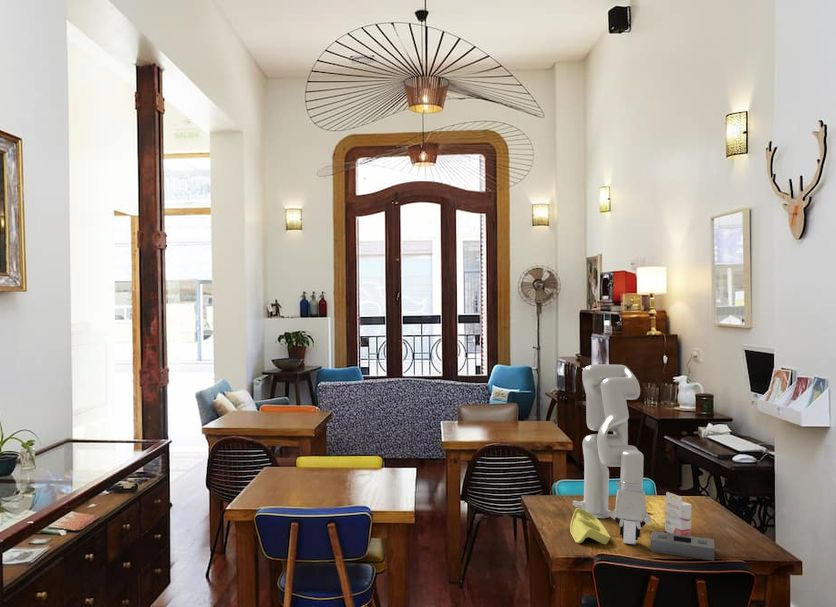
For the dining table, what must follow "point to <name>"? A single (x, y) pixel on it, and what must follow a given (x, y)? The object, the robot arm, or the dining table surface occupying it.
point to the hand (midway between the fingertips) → (629, 537)
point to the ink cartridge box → (677, 515)
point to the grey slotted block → (682, 545)
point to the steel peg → (629, 531)
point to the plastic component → (587, 527)
